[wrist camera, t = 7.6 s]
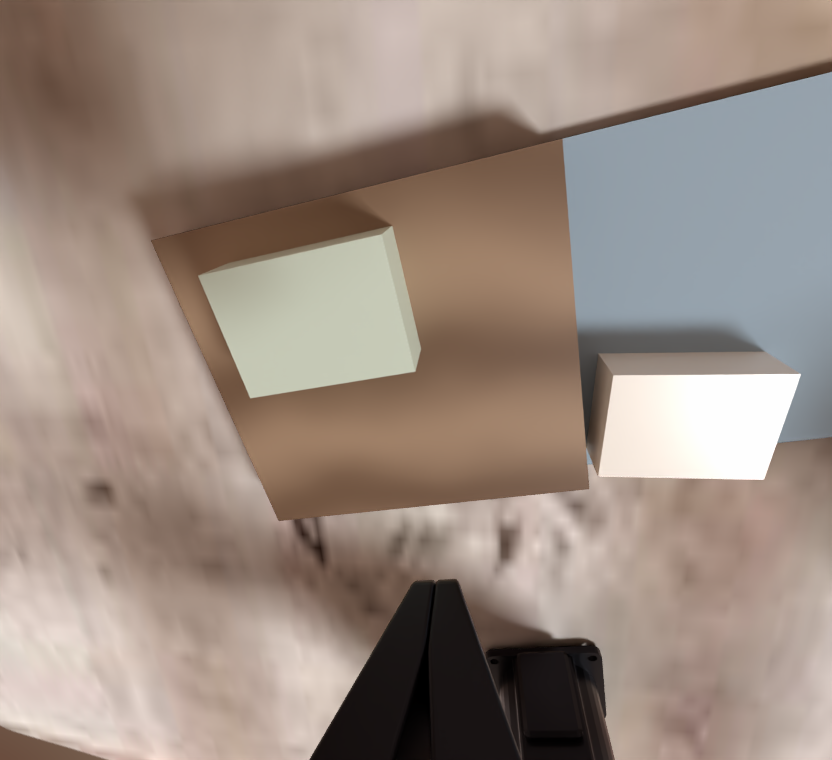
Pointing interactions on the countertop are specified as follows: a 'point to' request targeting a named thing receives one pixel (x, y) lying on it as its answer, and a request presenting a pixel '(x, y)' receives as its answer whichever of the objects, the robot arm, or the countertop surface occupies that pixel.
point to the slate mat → (710, 238)
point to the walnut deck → (439, 339)
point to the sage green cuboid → (316, 314)
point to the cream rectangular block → (688, 414)
